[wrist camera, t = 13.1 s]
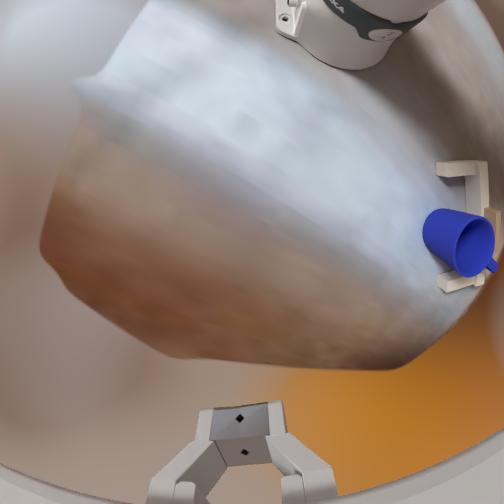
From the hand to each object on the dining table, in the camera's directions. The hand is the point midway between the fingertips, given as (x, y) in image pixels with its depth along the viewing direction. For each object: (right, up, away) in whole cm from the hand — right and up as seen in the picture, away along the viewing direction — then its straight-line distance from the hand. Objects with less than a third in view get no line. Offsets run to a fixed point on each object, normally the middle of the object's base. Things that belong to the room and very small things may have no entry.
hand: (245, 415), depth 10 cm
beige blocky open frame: (+33, +10, +30) cm, 46 cm away
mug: (+30, +9, +30) cm, 44 cm away
